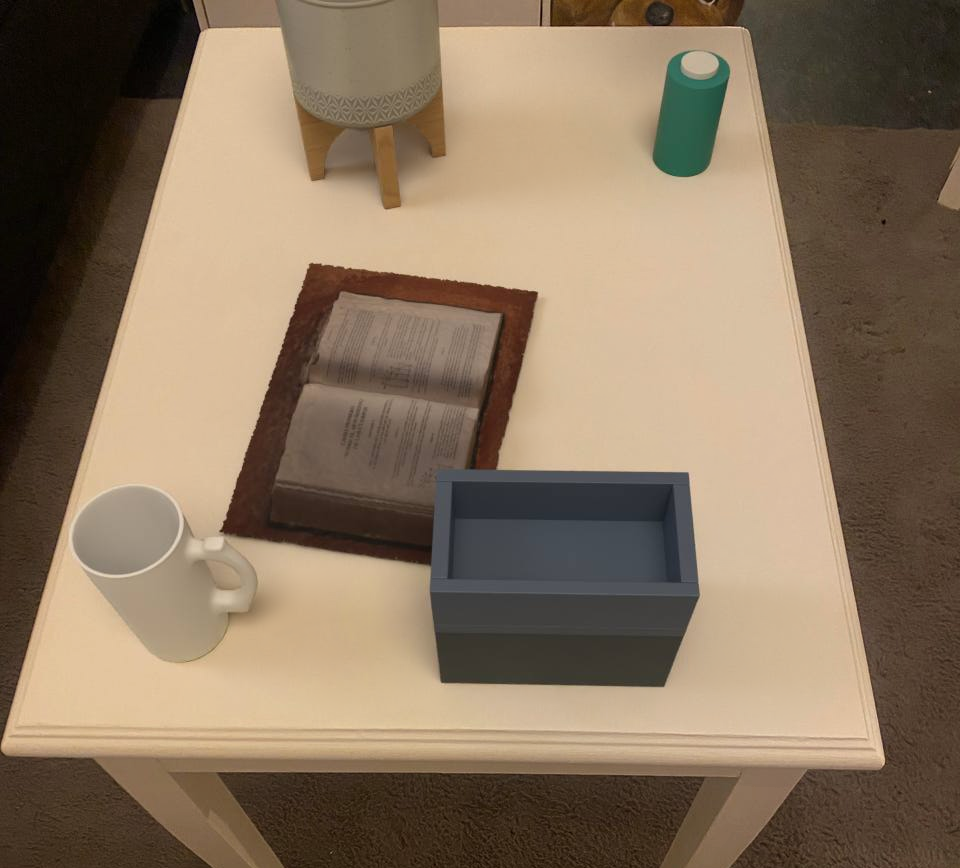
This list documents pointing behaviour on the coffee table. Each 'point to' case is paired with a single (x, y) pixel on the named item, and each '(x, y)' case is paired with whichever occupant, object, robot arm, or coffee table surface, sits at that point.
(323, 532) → the book
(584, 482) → the open storage box
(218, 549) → the mug
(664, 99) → the plastic bottle
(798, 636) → the coffee table surface
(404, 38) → the planter
